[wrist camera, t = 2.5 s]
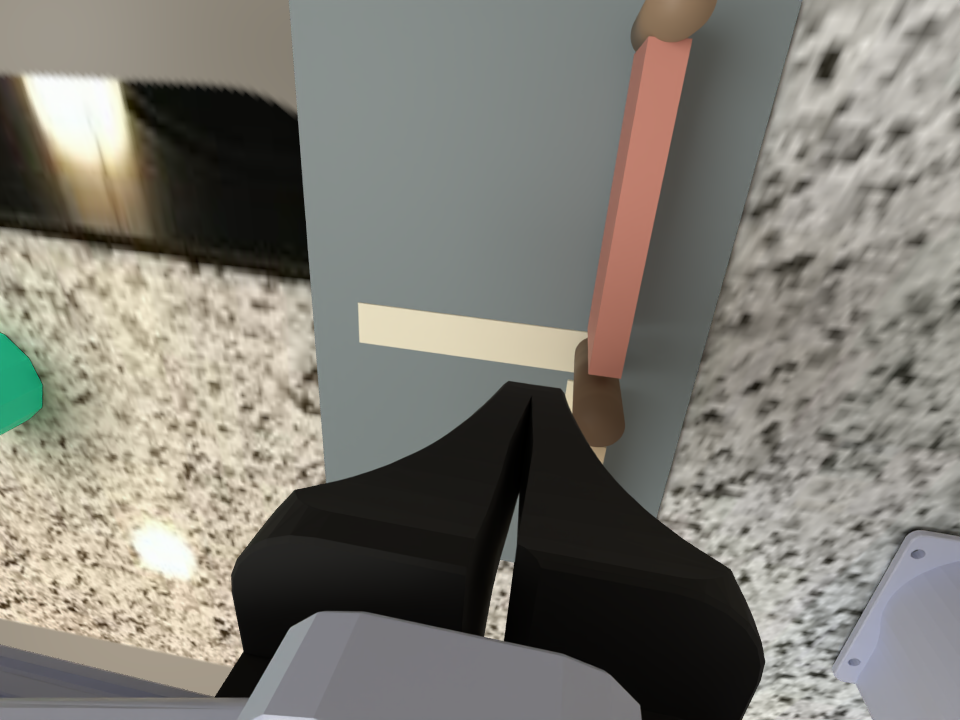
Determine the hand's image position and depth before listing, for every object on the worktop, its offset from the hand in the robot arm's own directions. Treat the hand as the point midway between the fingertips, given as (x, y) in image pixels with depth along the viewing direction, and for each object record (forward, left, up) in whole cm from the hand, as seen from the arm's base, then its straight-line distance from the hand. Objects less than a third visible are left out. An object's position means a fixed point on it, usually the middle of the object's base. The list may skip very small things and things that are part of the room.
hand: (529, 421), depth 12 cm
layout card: (-2, +2, -9) cm, 10 cm away
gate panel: (+4, -2, -9) cm, 10 cm away
